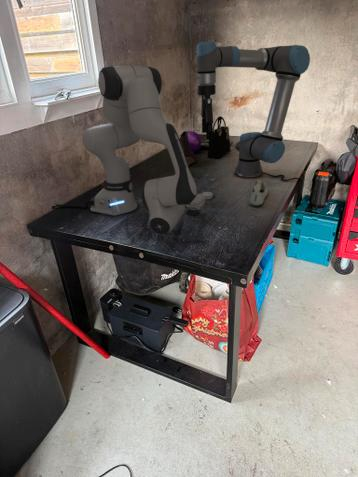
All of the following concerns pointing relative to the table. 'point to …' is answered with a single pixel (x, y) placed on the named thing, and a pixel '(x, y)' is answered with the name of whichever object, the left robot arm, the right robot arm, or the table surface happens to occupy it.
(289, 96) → the right robot arm
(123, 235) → the table surface
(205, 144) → the pair of gloves
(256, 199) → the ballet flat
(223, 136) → the handbag
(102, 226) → the table surface
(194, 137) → the decorative orb
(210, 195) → the lid
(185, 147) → the boot
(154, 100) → the left robot arm
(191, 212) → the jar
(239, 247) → the table surface
